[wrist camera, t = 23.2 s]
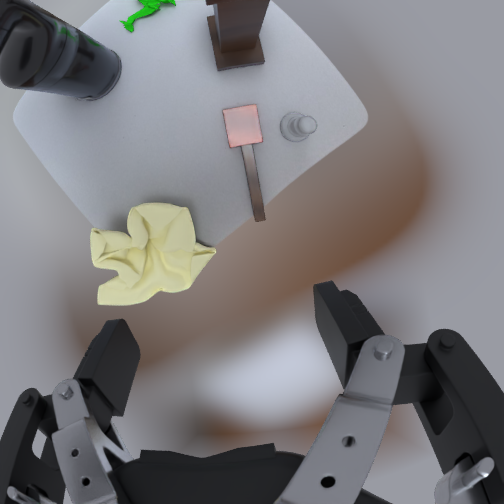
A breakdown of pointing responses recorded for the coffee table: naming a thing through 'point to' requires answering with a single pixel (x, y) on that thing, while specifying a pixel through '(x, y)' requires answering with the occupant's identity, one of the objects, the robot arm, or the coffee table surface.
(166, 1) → the figurine
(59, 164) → the coffee table surface
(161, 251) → the cloth
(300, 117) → the chess piece
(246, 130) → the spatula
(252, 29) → the wooden pedestal stand
